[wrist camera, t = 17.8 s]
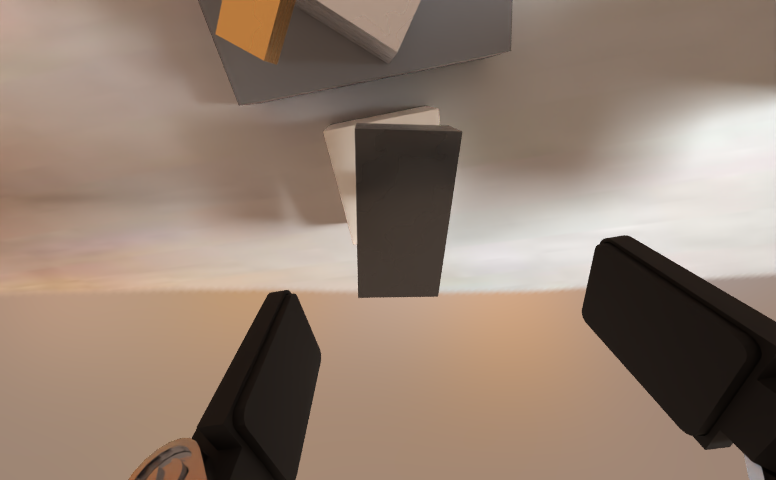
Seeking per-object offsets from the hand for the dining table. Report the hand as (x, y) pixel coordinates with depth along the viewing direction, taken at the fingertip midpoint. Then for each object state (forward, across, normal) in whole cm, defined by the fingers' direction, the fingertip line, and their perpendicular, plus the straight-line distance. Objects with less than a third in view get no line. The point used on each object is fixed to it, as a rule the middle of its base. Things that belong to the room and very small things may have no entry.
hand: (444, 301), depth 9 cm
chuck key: (+17, +1, 0) cm, 17 cm away
